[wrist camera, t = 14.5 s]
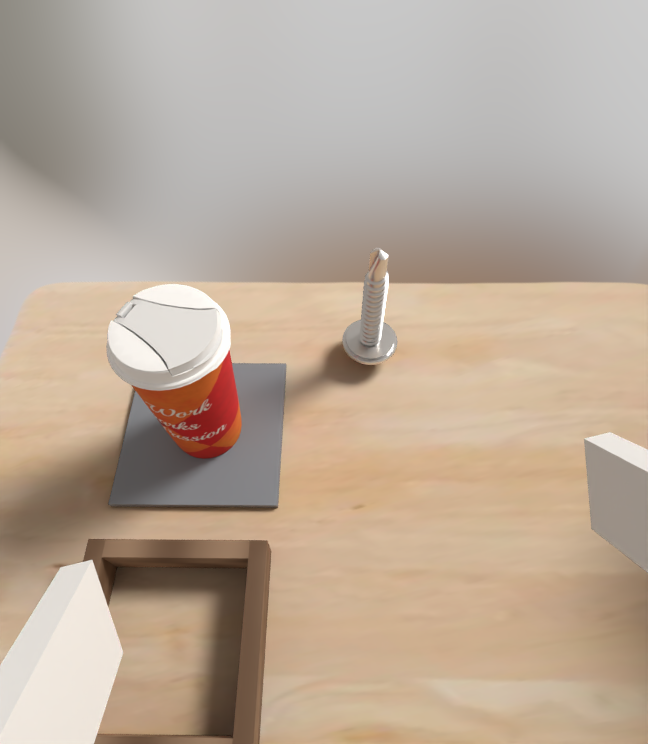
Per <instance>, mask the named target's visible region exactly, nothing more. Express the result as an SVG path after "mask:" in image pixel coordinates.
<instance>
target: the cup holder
mask: <svg viewBox="0 0 648 744" xmlns="http://www.w3.org/2000/svg"><path fill="white" fill-rule="evenodd" d="M89 560H93V563H94V566H95V569H96V572H97V575H98V578H99V581H100V584H101V587H102V590H103V593H104V596H105V599H106V602H107V605H108V606H109V601H110V597H111V592H112V587H113V583H114V578H115V573H116V569H117V567H176V568H247V579H246V591H245V602H244V614H243V626H242V637H241V649H240V661H239V672H238V684H237V696H236V707H235V719H234V731H233V736H210V735H134V734H97V736H96V739H95V742H94V744H259V738H260V722H261V706H262V691H263V675H264V659H265V643H266V627H267V611H268V595H269V580H270V564H271V549H270V547H269V544H268V541H262V540H136V539H89V540H88V544H87V548H86V552H85V556H84V560H83V562H84V561H89Z"/></svg>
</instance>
